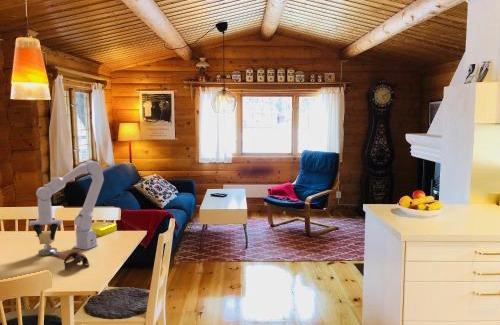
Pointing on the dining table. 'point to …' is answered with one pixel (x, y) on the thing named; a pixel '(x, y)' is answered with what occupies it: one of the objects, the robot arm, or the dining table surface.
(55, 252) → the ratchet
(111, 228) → the element tile
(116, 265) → the dining table surface
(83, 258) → the brown arched piece
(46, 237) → the wooden cube
